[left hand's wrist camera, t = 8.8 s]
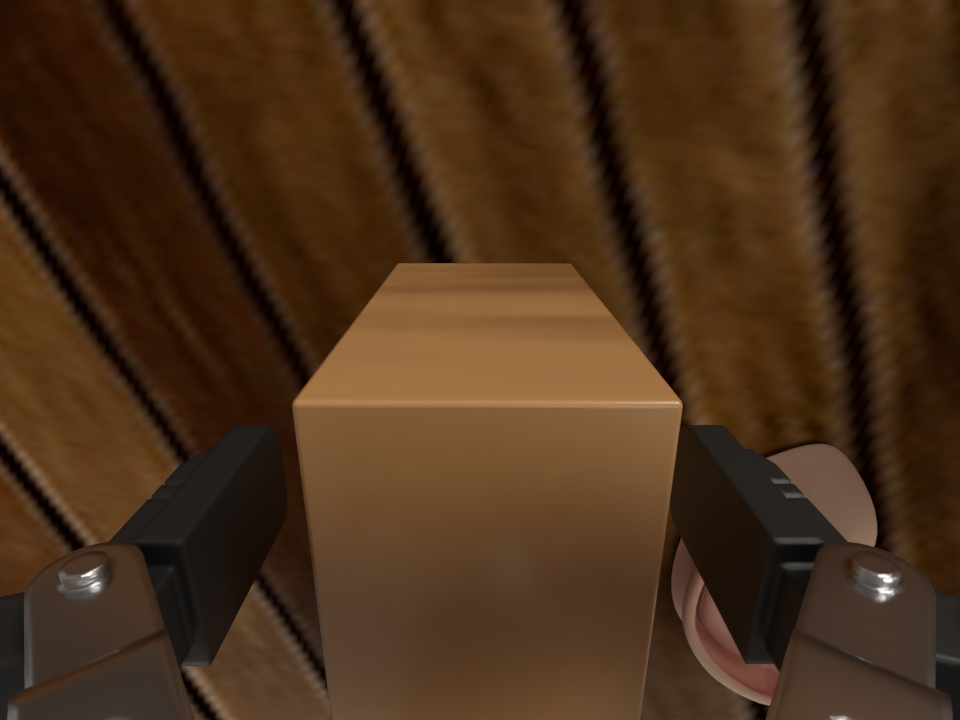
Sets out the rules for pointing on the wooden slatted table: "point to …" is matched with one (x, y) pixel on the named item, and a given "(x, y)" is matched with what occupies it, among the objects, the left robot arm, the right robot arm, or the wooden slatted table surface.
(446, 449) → the bar
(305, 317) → the wooden slatted table surface
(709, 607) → the anatomical model
